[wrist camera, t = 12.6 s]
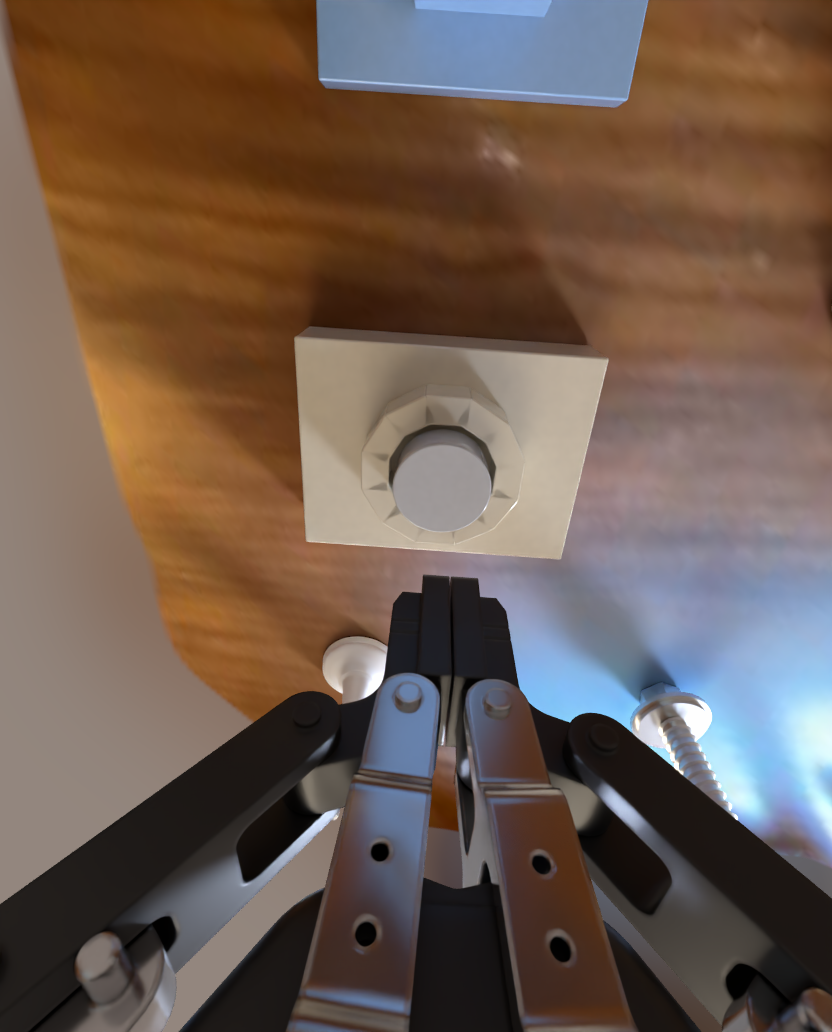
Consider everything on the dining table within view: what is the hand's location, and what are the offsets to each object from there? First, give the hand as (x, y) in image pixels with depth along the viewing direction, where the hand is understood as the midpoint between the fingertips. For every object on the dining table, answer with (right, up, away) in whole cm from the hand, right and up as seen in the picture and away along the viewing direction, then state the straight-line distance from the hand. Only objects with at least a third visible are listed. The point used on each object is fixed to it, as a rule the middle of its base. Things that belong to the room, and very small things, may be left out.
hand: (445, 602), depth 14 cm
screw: (+15, -10, +20) cm, 27 cm away
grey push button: (0, +4, +8) cm, 9 cm away
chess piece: (-4, -7, +20) cm, 21 cm away
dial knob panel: (0, +6, +12) cm, 13 cm away
